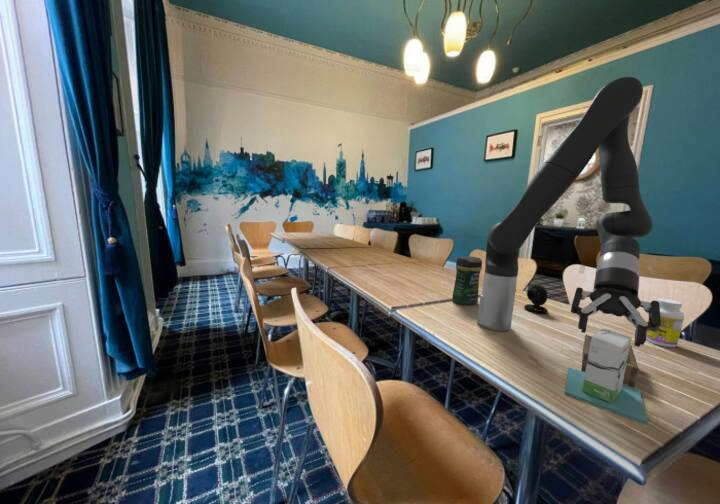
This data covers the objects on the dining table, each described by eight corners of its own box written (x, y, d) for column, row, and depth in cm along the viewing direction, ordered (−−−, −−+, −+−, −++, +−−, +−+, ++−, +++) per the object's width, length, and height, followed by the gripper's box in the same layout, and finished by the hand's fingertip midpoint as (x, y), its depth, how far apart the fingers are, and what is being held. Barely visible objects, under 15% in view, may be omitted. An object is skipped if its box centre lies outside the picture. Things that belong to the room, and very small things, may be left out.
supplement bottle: (637, 337, 85) (646, 297, 83) (657, 337, 85) (666, 297, 83) (663, 348, 78) (673, 305, 76) (684, 348, 79) (694, 305, 77)
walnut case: (581, 370, 65) (584, 353, 65) (582, 350, 75) (585, 334, 75) (634, 387, 60) (638, 368, 59) (628, 362, 70) (631, 346, 69)
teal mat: (564, 394, 57) (564, 391, 57) (568, 369, 66) (568, 367, 66) (647, 424, 49) (648, 421, 49) (638, 391, 58) (639, 389, 58)
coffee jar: (463, 306, 106) (468, 259, 103) (448, 300, 113) (452, 255, 110) (481, 304, 110) (486, 258, 107) (466, 297, 117) (471, 254, 114)
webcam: (519, 306, 108) (522, 282, 107) (537, 306, 109) (540, 282, 107) (533, 314, 101) (537, 288, 99) (552, 314, 101) (556, 288, 100)
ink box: (612, 404, 53) (623, 347, 51) (580, 390, 57) (590, 337, 55) (622, 388, 58) (633, 335, 56) (592, 376, 62) (602, 327, 60)
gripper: (579, 261, 67) (568, 319, 60) (665, 272, 58) (664, 342, 51) (577, 278, 72) (566, 334, 65) (655, 291, 63) (653, 357, 56)
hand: (609, 337), depth 58 cm, fingers open, 8 cm apart
